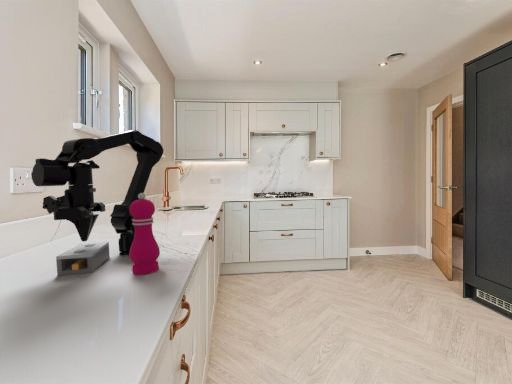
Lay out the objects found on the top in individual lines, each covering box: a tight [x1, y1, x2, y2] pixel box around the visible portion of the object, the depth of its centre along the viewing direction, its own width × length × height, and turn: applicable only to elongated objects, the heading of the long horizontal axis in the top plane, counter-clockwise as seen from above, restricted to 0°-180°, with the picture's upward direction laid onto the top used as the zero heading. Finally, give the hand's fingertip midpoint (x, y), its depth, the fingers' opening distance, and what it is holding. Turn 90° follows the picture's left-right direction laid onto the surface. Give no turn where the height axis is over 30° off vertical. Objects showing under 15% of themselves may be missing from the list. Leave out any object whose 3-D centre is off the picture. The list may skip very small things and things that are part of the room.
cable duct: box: [55, 245, 111, 276], centre depth 77 cm, size 8×14×4 cm, turn 12°
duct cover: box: [55, 241, 110, 260], centre depth 76 cm, size 8×14×1 cm, turn 12°
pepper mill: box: [128, 192, 161, 276], centre depth 70 cm, size 7×7×20 cm
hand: (84, 241), depth 76 cm, fingers closed
